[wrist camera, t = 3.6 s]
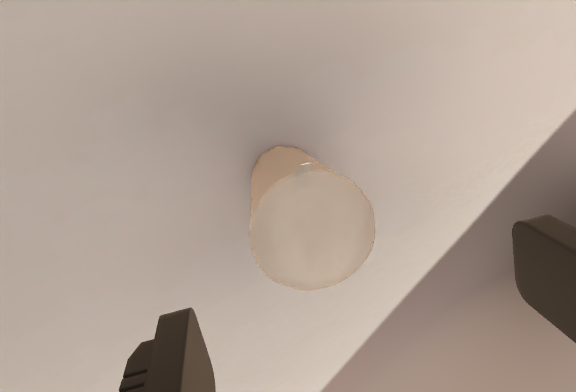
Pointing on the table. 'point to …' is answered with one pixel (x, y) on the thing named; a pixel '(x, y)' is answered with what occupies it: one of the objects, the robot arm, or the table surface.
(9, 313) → the table surface
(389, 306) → the table surface
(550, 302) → the robot arm
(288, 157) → the milkshake
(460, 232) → the table surface
